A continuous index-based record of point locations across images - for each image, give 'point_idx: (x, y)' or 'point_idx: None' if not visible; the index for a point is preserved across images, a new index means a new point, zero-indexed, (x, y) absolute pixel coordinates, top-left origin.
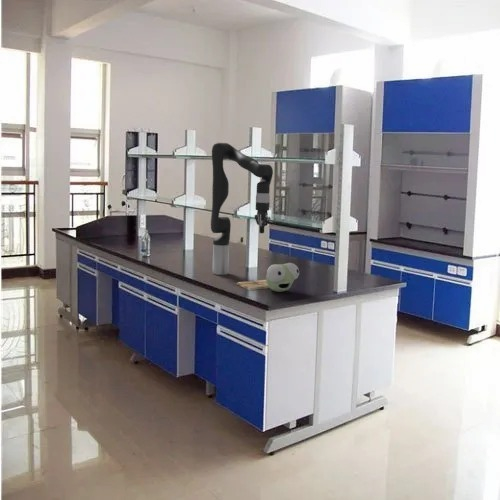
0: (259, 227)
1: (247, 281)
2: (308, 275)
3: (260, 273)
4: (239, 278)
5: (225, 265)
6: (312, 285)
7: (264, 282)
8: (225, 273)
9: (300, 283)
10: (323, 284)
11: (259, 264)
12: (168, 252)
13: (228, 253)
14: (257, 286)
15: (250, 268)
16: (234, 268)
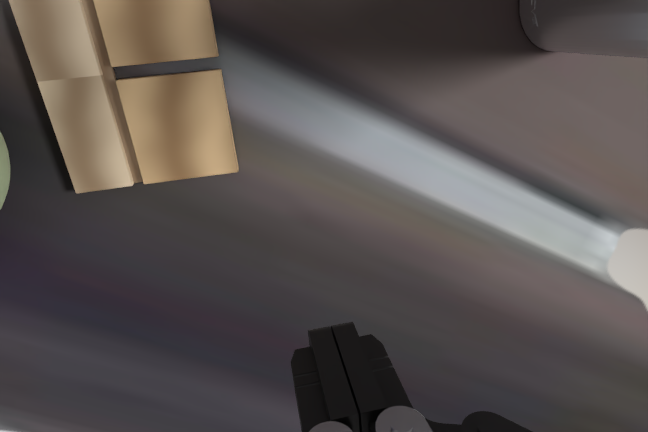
0: (377, 388)
1: (211, 27)
2: None
3: (462, 232)
4: (392, 56)
5: (561, 7)
6: (104, 368)
7: (165, 134)
8: (524, 11)
9: (165, 332)
10: (119, 418)
11: (637, 303)
12: None
13: (644, 42)
14: (42, 29)
15: (588, 230)
16: (634, 149)
